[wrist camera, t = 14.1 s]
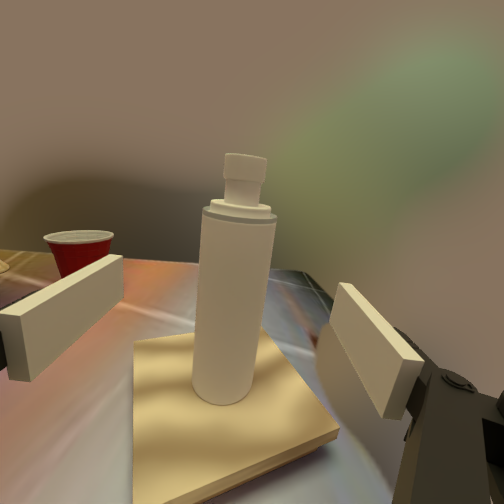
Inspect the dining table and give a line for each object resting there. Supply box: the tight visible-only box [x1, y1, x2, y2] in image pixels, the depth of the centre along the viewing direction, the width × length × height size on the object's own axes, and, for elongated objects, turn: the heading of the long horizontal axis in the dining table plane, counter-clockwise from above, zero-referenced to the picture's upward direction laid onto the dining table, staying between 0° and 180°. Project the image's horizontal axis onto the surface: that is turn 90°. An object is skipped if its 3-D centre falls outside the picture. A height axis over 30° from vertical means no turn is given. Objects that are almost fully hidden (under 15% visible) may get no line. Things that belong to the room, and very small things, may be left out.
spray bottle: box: [192, 153, 277, 405], centre depth 24 cm, size 7×7×25 cm
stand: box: [133, 326, 340, 504], centre depth 28 cm, size 18×18×4 cm
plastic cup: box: [43, 230, 114, 279], centre depth 47 cm, size 11×11×12 cm
